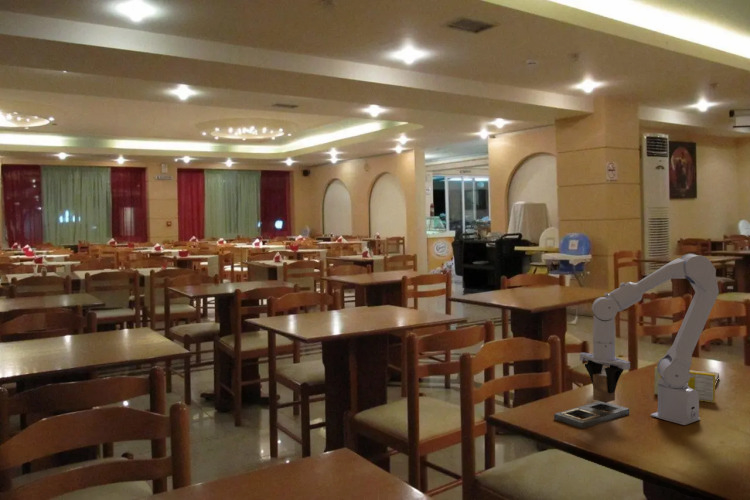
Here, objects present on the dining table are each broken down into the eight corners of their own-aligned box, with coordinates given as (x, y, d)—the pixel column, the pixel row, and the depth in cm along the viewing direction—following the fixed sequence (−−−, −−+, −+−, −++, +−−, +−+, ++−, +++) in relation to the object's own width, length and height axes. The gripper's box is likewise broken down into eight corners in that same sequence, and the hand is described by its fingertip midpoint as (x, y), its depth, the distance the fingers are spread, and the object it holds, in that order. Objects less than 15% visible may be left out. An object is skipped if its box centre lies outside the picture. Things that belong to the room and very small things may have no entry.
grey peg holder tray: (629, 413, 166) (629, 407, 166) (582, 428, 155) (582, 422, 155) (600, 405, 173) (600, 400, 173) (554, 419, 162) (554, 413, 162)
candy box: (715, 401, 176) (716, 373, 176) (714, 403, 174) (714, 375, 174) (655, 392, 186) (655, 366, 186) (653, 394, 184) (654, 367, 184)
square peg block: (614, 400, 166) (614, 374, 166) (605, 402, 164) (605, 377, 163) (602, 396, 169) (602, 372, 169) (593, 399, 167) (593, 374, 167)
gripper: (572, 339, 170) (572, 387, 170) (618, 347, 158) (618, 399, 158) (588, 336, 174) (588, 383, 174) (634, 344, 162) (634, 394, 162)
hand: (604, 390), depth 167 cm, fingers closed on square peg block, 4 cm apart
